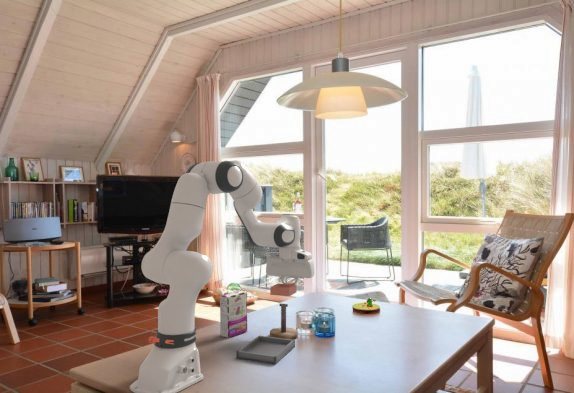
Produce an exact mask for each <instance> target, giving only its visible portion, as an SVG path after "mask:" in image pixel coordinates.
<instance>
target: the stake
mask: <svg viewBox="0 0 574 393" xmlns="http://www.w3.org/2000/svg"><path fill="white" fill-rule="evenodd" d="M279 307H280V327H275V328H272V329H271V330H269V337H274V338H282V339H290V340H297V339H298V330H297V329H295V328H292V327H287V308H288V303H279Z"/></svg>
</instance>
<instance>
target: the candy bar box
mask: <svg viewBox="0 0 574 393" xmlns="http://www.w3.org/2000/svg"><path fill="white" fill-rule="evenodd" d="M247 292H248V291H243V290H238V291H232V292H229V293H225V294H221V295H219V314H220V315H219V317H220V318H219V320H220V322H219V324H220V325H219V326H220V327H219V328H220V330H219V331H220V337H223V338H226V339H230V338H233V337H236V336H239V335H242V334H244V333H247V332H248V293H247Z"/></svg>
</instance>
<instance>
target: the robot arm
mask: <svg viewBox="0 0 574 393" xmlns="http://www.w3.org/2000/svg"><path fill="white" fill-rule="evenodd" d="M261 186H262V185H261V184H260V183H259V181H258V180H257V178H256V177H255V175H254V174H253V172H251V170H250V169H249V168H248V167H247V166H246V165H245V164H244V163H243V162H242V161H240V160H223V161H222V160H221V161H220V160H217V161H215V160H209V161H208V160H207V161H203V162H196V163H193V164H192V165H190V166H189V167H188V168H187V169H186V171H185V173H184V174H182V175H181V176H180V177H179V178H178V180H177V183H176V185H175V187H174V191H173V194H172V198H171V202H170V206H169V212H168V215H167V220H166V224H165V227H164V230H163V232H162V234H161V236H160V238H159V239H158V240H157V242H156V244H155V245H154V247H153V248H151V249H150V250H149V251H148V252H146V253H145V254H144V256H143V258H142V260H141V266H140V267H141V272H142V274H143V276H144V277H145V278H146V279H149V280H150V281H153V282H155V283H156V284H163V285H169V292H168V295H167V297H166V298H165V299H163V300H162V301H160V303H159V305H158V307H157V331H156V334H155V336H153V335H151V336H149V338H148V343H149V344H153V347H152V349H151V350H150V351H149V353H148V355H147V356H145V359H144V360H143V362H142V363H141V364H140V366H139V370H138V378H137V379H136V380H135V381H133V383H131V384H130V385H129V390H130V391H131V392H132V393H179V392H180V391H182V390H185V389H186V388H189V387H191V386H193V385H195V384H196V383H198V382H200V381H202V380H204V377H205V376H204V374H203V373H202V372H201V363H200V361H201V360H200V352H199V349H198V347H197V344H196V341H197V329H196V326H195V324H196V323H195V322H196V321H195V318H196V316H195V315H196V304H197V300H198V297H199V294H200V292H201V291H202V289H203V288H204V287H205V286H206V285H207V284H208V283H209V282H210V280H211V278H212V276H213V271H214V267H213V262H212V260H211V258H210V257H209V256H208V255H204V253H203V254H202V253H200V252H197V251H191V250H187V249H188V248H189V246H190V244H191V243H192V241H193V240H195V239H196V238H198V237H199V236H200V235H201V233H202V231H203V230H202V229H203V225H204V221H205V220H204V219H205V215H206V209H207V203H208V196H209V195H217V194H218V195H219V194H229V195H230V197H231V198H232V200H233V202H232V204H233V208H234V211H235V212H236V215H237V217H238V218H239V220H240V222H241V224H242V226H243V227H244V229H245V231H246V232H245V233H246V236H247V239H248V241H249V243H250V244H251V245H252V246H253V247H257V248H260V247H262V248H263V247H265V248H267V247H268V248H277V249H278V248H279V249H278V250H279V251H278V252H270V253H268V254H266V259H265V260H266V266H265V273H266V275H268V276H272V277H273V276H275V277H279V278H280V281H281V284H285V283H287V282H288V281H287V282H286V278H287V277H288V278H294V281H293V282H294V283H292V285H297V284H298V282H299V280H300V279H301V278H303V279H311V278H313V277H314V276H315V264H314V261H313V259H312V257H313V254H312V252H310V251H307V250H305V249H302V246H301V236H302V229H301V221H300V220H301V219H300V217H299V216H298V215H296V214H290V213H282V214H281V216H280V218H279V219H278V220H276V221H275V222H265V221H264V222H263V221H261V220H259V219H258V218H257V217H256V214H255V212H254V211H253V209H255V208H256V207H257V206H258V205H259V204H260V202H261V201H262V198H263V194H264V192H263V189H262V187H261ZM297 286H298V285H297Z"/></svg>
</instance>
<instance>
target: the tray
mask: <svg viewBox="0 0 574 393" xmlns="http://www.w3.org/2000/svg"><path fill="white" fill-rule="evenodd" d="M294 348H296V339H294V340H290V339H282V338H274V337H270V336H266V335H265V336H264V335H258V336H256V337H255V338H253V339H252V340H251V341H249V342H248V343H246V344H245V345H243V346H241V348H239V349H238V350H236V351H235V352H236V356H235V357H236V359H237V360H242V359H243V360H242V361H249V360H250V361H251V362H256V361H257V362H258V363H264V364H271V365H277V364H278V363H279V362H281V360H283V358H284V357H286V356H287V355H288V354H289V353H291V351H292V350H293V349H294Z"/></svg>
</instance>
